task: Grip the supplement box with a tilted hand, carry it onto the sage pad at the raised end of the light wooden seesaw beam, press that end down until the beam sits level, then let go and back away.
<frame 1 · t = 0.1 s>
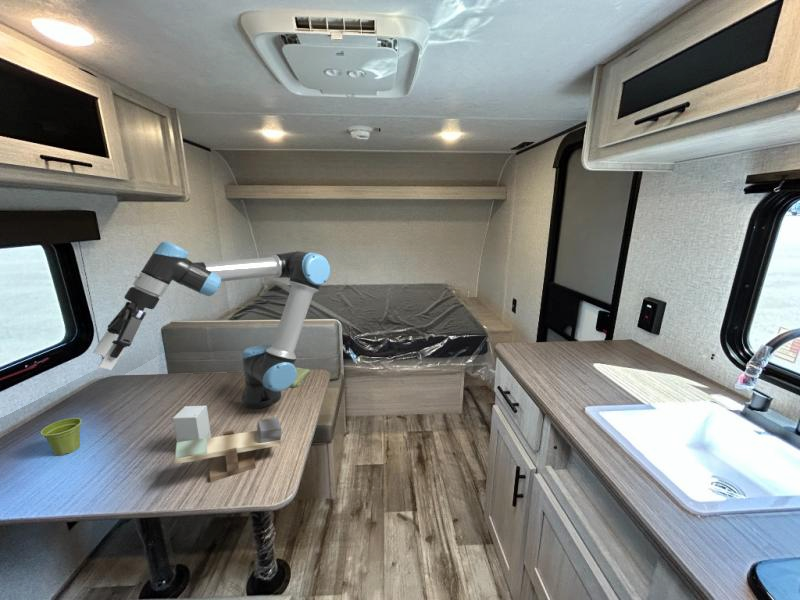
hand: (101, 360, 92), 36 cm above the table, tool tilted 35°, fingers open, 13 cm apart
washcloth: (291, 379, 162), on the table
seesaw beam: (230, 438, 103), point 9 cm above the table, hinge at -8.0°
supplement box: (195, 446, 113), on the table
fulcrum stand: (232, 463, 105), on the table
plant pot: (67, 450, 111), on the table
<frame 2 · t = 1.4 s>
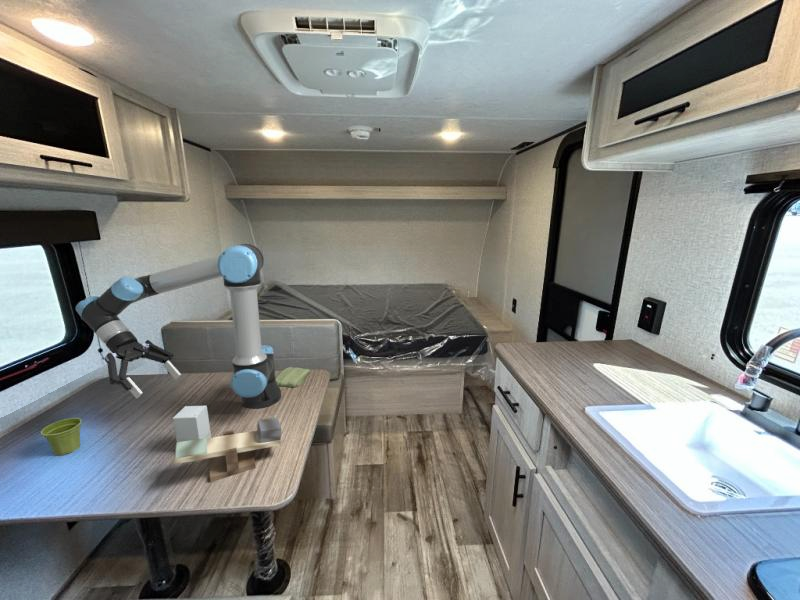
hand: (160, 385, 111), 20 cm above the table, tool tilted 45°, fingers open, 13 cm apart
nothing on the table moved.
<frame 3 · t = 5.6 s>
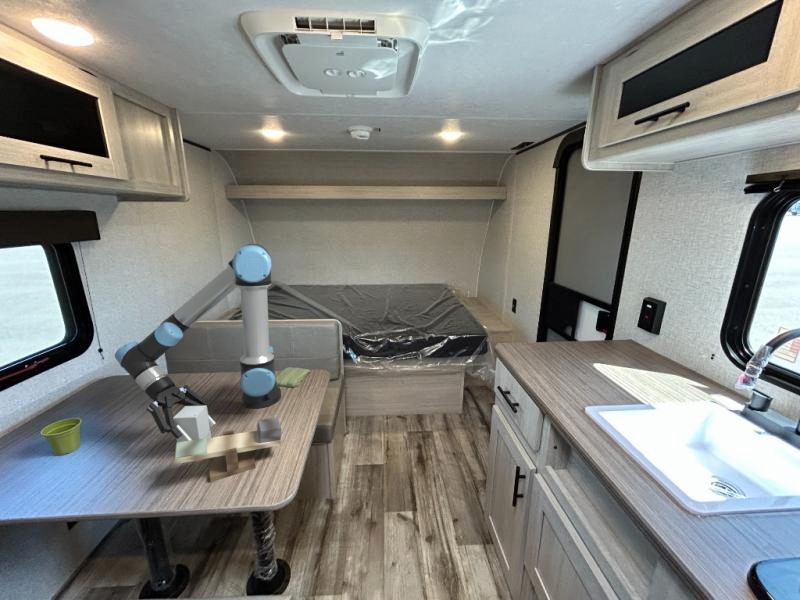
hand: (201, 434, 111), 5 cm above the table, tool tilted 45°, fingers closed on supplement box, 9 cm apart
supplement box: (195, 445, 113), on the table, touching gripper
everything else where it was.
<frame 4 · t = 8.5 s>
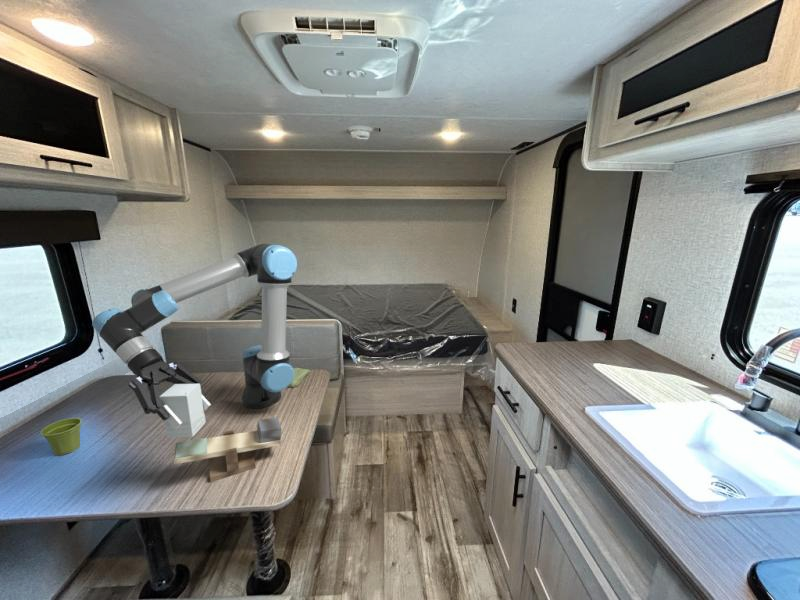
hand: (193, 416, 95), 20 cm above the table, tool tilted 45°, fingers closed on supplement box, 9 cm apart
supplement box: (186, 430, 97), point 15 cm above the table, touching gripper
everything else where it was.
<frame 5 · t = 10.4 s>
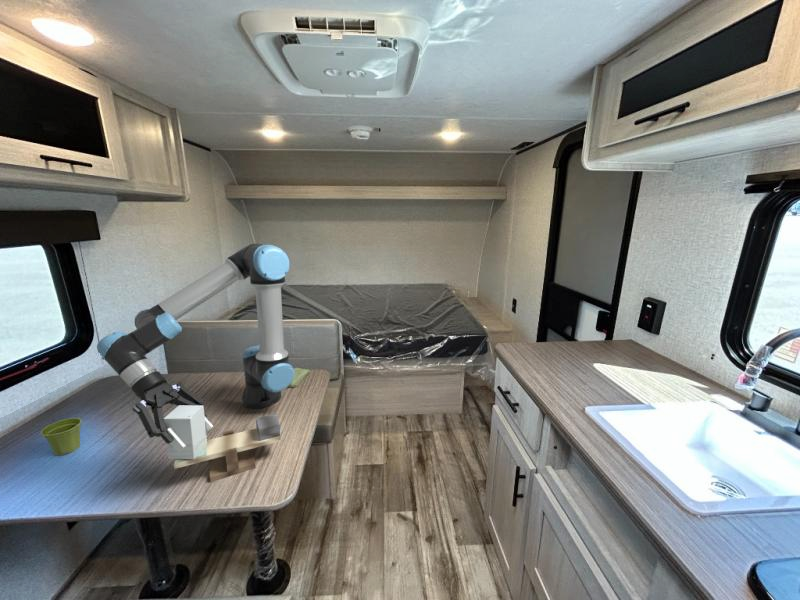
hand: (196, 438, 96), 13 cm above the table, tool tilted 45°, fingers closed on supplement box, 9 cm apart
seesaw beam: (229, 438, 103), point 9 cm above the table, hinge at -2.2°, touching supplement box
supplement box: (188, 451, 98), point 8 cm above the table, touching gripper, seesaw beam
everything else where it was.
when the fingers open (13 cm above the table, at t = 11.3 s): supplement box stays where it is, resting on seesaw beam.
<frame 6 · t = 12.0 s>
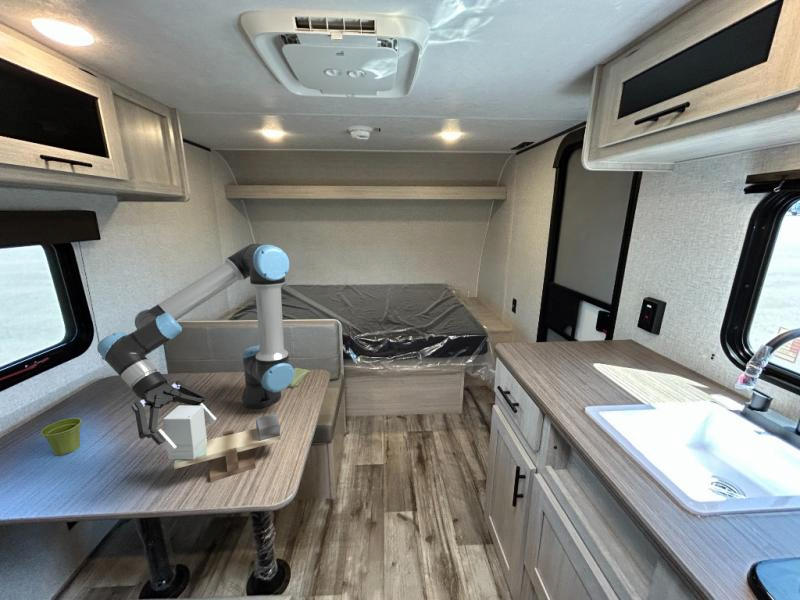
hand: (194, 435, 96), 14 cm above the table, tool tilted 45°, fingers open, 13 cm apart
supplement box: (188, 452, 98), point 8 cm above the table, touching seesaw beam
everything else where it was.
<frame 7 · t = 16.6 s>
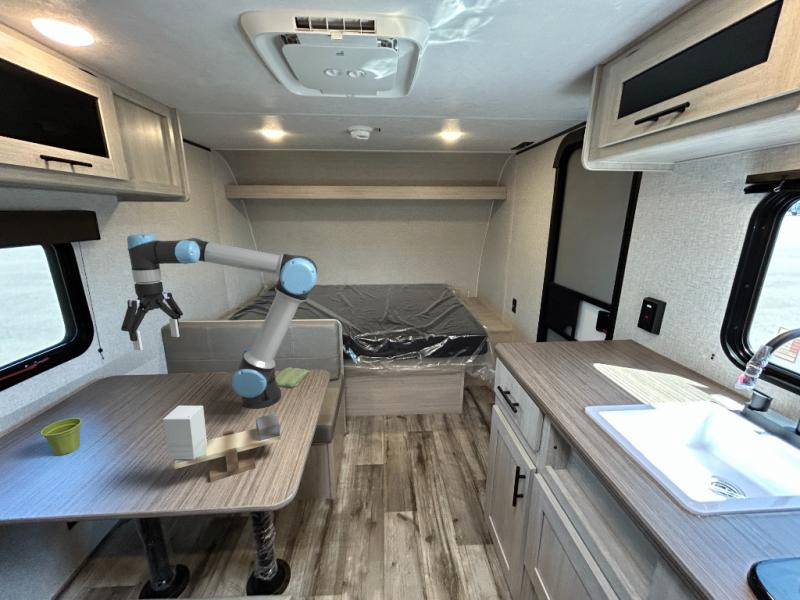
hand: (158, 342, 117), 32 cm above the table, tool pointing down, fingers open, 13 cm apart
nothing on the table moved.
at the end: seesaw beam at -2° (first picture: -8°); supplement box inside the target area on the seesaw beam (0.7 cm from its centre), point 1.9 cm above the seesaw beam's base; supplement box tilted 2° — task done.
